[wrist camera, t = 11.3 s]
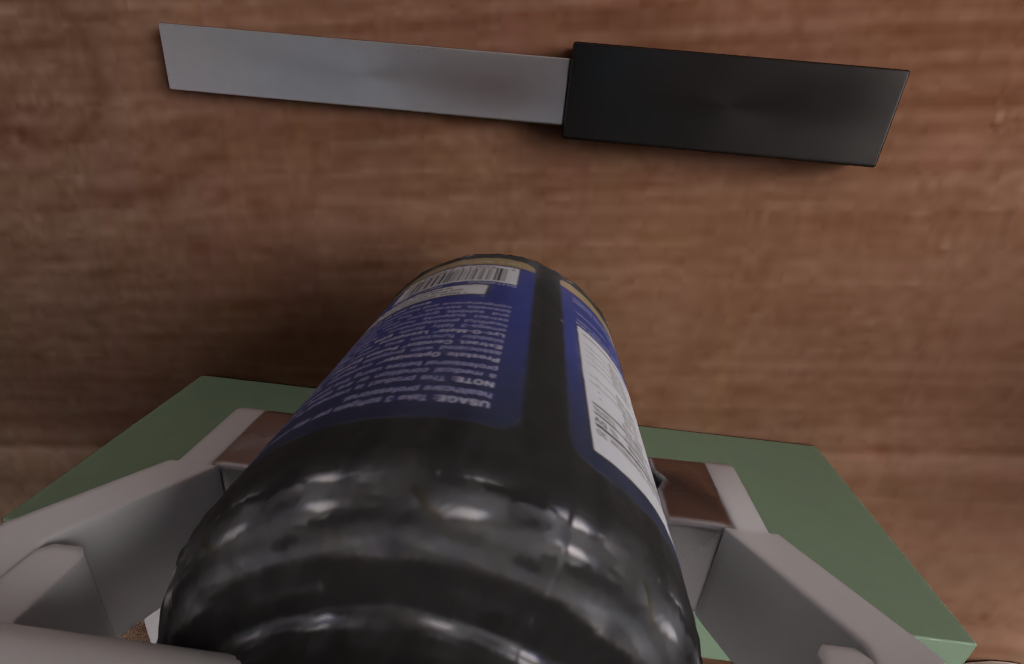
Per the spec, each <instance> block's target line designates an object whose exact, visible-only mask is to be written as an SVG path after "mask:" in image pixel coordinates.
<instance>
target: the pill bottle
mask: <svg viewBox="0 0 1024 664" xmlns="http://www.w3.org/2000/svg"><path fill="white" fill-rule="evenodd" d="M156 643H157V644H164V645H171V646H179V647H186V648H193V649H200V650H208V651H215V652H222V653H229V654H231V655H234V656H236V660H239V661H240V662H241V664H703V661H702V657H701V647H700V638H699V635H698V632H697V628H696V623H695V617H694V614H693V611H692V608H691V604H690V601H689V598H688V594H687V590H686V586H685V583H684V580H683V575H682V571H681V567H680V564H679V561H678V558H677V555H676V552H675V549H674V545H673V541H672V539H671V536H670V533H669V530H668V526H667V522H666V518H665V514H664V512H663V509H662V506H661V502H660V497H659V495H658V492H657V489H656V486H655V482H654V479H653V475H652V472H651V468H650V465H649V462H648V458H647V455H646V452H645V448H644V445H643V442H642V438H641V435H640V431H639V428H638V424H637V421H636V418H635V414H634V411H633V408H632V404H631V401H630V397H629V393H628V390H627V387H626V384H625V381H624V377H623V374H622V370H621V367H620V364H619V360H618V357H617V354H616V350H615V347H614V344H613V341H612V338H611V335H610V332H609V329H608V325H607V323H606V320H605V318H604V316H603V315H602V313H601V311H600V310H599V309H598V308H597V307H596V306H595V304H594V303H593V302H592V301H591V299H590V298H589V297H588V296H587V295H586V294H585V293H584V292H583V291H582V290H581V289H580V288H579V287H578V286H577V285H576V284H575V283H573V282H571V281H570V280H568V279H566V278H564V277H562V276H561V275H560V274H559V273H558V272H555V271H553V270H551V269H549V268H547V267H545V266H543V265H542V264H540V263H538V262H536V261H533V260H529V259H526V258H523V257H518V256H513V255H503V254H473V255H468V256H464V257H461V258H457V259H454V260H451V261H448V262H446V263H443V264H440V265H437V266H435V267H433V268H430V269H428V270H426V271H424V272H422V273H421V274H420V275H419V276H418V277H416V278H415V279H414V280H413V281H411V282H410V283H409V284H407V285H406V286H405V287H404V288H403V289H402V290H401V291H400V292H399V293H398V294H397V295H396V297H395V298H394V300H393V302H392V303H391V304H390V305H389V306H388V307H387V308H386V309H385V311H384V312H383V313H382V314H381V315H380V316H379V317H378V319H377V320H376V321H375V322H374V323H373V324H372V325H371V327H370V328H369V329H368V330H367V331H366V332H365V333H364V335H363V336H362V337H361V338H360V339H359V340H358V341H357V342H356V344H355V345H354V346H353V347H352V348H351V349H350V351H349V352H348V353H347V354H346V355H345V356H344V357H343V359H342V360H341V361H340V362H339V363H338V364H337V365H336V367H335V368H334V369H333V370H332V371H331V372H330V373H329V375H328V376H327V377H326V378H325V379H324V380H323V381H322V383H321V384H320V385H319V386H318V387H317V388H316V389H315V391H314V392H313V393H312V394H311V395H310V396H309V397H308V399H307V400H306V401H305V402H304V403H303V404H302V405H301V406H300V408H299V409H298V410H297V411H296V412H295V413H294V414H293V416H292V417H291V418H290V419H289V420H288V421H287V422H286V424H285V425H284V426H283V427H282V428H281V429H280V430H279V432H278V433H277V434H276V435H275V436H274V437H273V438H272V440H271V441H270V442H269V443H268V444H267V445H266V446H265V448H264V449H263V450H262V451H261V452H260V453H259V454H258V456H257V457H256V458H255V459H254V460H253V461H252V462H251V463H250V465H249V466H248V467H247V468H246V469H245V470H244V471H243V472H242V473H241V475H240V476H239V477H238V478H237V479H236V480H235V481H234V482H233V483H232V484H231V485H230V486H229V488H228V489H227V491H226V492H225V493H224V494H223V495H222V497H221V498H220V499H219V500H218V501H217V502H216V503H215V504H214V506H212V507H211V508H210V509H209V510H208V511H207V512H206V513H205V515H204V517H203V518H202V520H201V521H200V523H199V524H198V526H197V527H196V528H195V530H194V531H193V532H192V534H191V536H190V538H189V541H188V543H187V544H186V545H185V546H184V547H183V548H182V549H181V551H180V553H179V555H178V558H177V562H176V565H175V568H174V570H173V575H172V577H171V580H170V583H169V586H168V588H167V591H166V593H165V596H164V599H163V602H162V605H161V608H160V618H159V626H158V639H157V642H156Z"/></svg>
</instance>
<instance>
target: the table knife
mask: <svg viewBox="0 0 1024 664" xmlns="http://www.w3.org/2000/svg"><path fill="white" fill-rule="evenodd" d="M158 26H159V32H160V37H161V43H162V48H163V54H164V60H165V65H166V71H167V76H168V82H169V87H170V89H172V90H182V91H193V92H204V93H215V94H226V95H236V96H247V97H258V98H269V99H280V100H290V101H301V102H312V103H323V104H333V105H344V106H355V107H366V108H377V109H387V110H398V111H409V112H420V113H431V114H441V115H452V116H463V117H474V118H485V119H495V120H506V121H517V122H528V123H538V124H549V125H560V126H562V125H563V131H562V137H563V138H565V139H575V140H586V141H596V142H607V143H618V144H628V145H639V146H650V147H660V148H671V149H682V150H692V151H703V152H714V153H725V154H735V155H746V156H757V157H767V158H778V159H789V160H799V161H810V162H821V163H831V164H842V165H853V166H863V167H875V166H876V163H877V161H878V158H879V155H880V152H881V150H882V147H883V144H884V142H885V139H886V136H887V133H888V131H889V128H890V125H891V123H892V120H893V117H894V114H895V112H896V109H897V106H898V104H899V101H900V98H901V95H902V93H903V90H904V87H905V84H906V82H907V79H908V76H909V74H910V71H908V70H901V69H889V68H878V67H866V66H854V65H843V64H831V63H819V62H808V61H796V60H784V59H773V58H761V57H750V56H738V55H726V54H715V53H703V52H691V51H680V50H668V49H657V48H645V47H633V46H622V45H610V44H598V43H587V42H574V44H573V48H572V55H571V59H570V58H561V57H549V56H538V55H526V54H515V53H504V52H492V51H481V50H469V49H458V48H446V47H435V46H423V45H412V44H401V43H389V42H378V41H366V40H355V39H343V38H332V37H320V36H309V35H298V34H286V33H275V32H263V31H252V30H240V29H229V28H217V27H206V26H194V25H183V24H172V23H158Z"/></svg>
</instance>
